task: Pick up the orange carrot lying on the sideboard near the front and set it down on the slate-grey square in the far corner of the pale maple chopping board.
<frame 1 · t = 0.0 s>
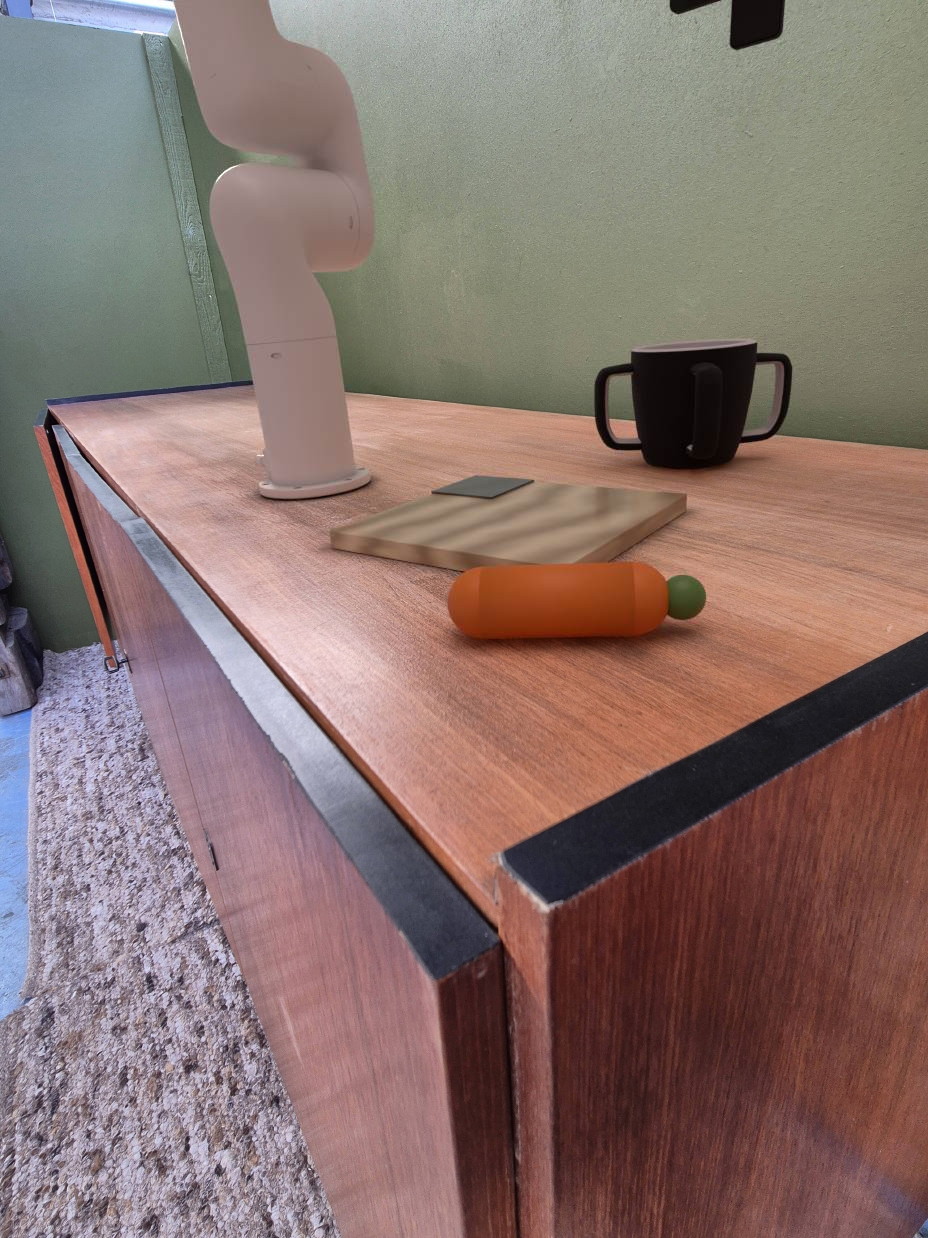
hand: (729, 25, 43), 31 cm above the table, tool pointing down, fingers open, 9 cm apart
carrot: (557, 634, 39), on the table
mug: (688, 464, 77), on the table
chopping board: (510, 529, 59), on the table
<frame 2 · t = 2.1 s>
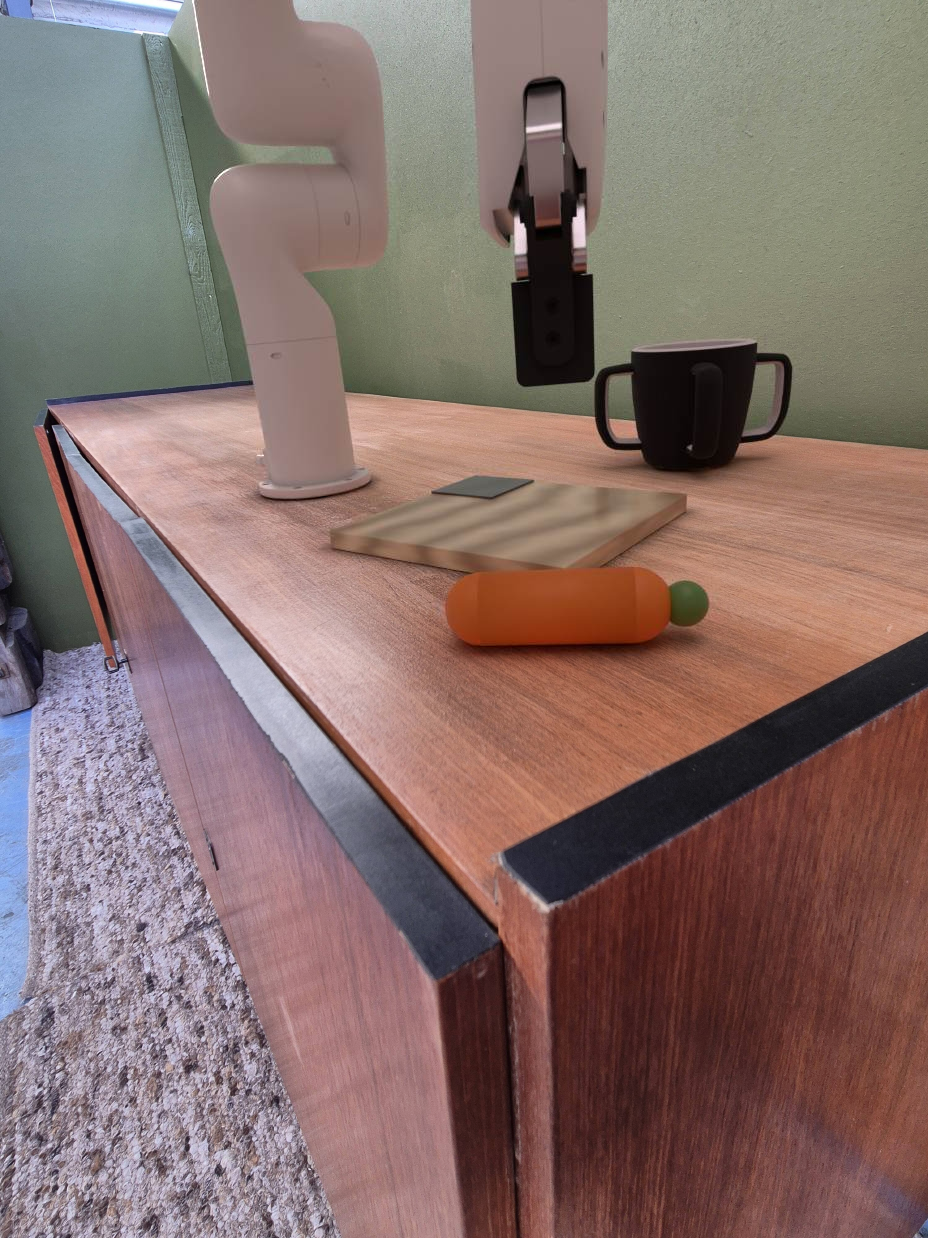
hand: (557, 374, 34), 14 cm above the table, tool pointing down, fingers open, 9 cm apart
carrot: (557, 631, 39), on the table, tilted 25°
everything else where it was.
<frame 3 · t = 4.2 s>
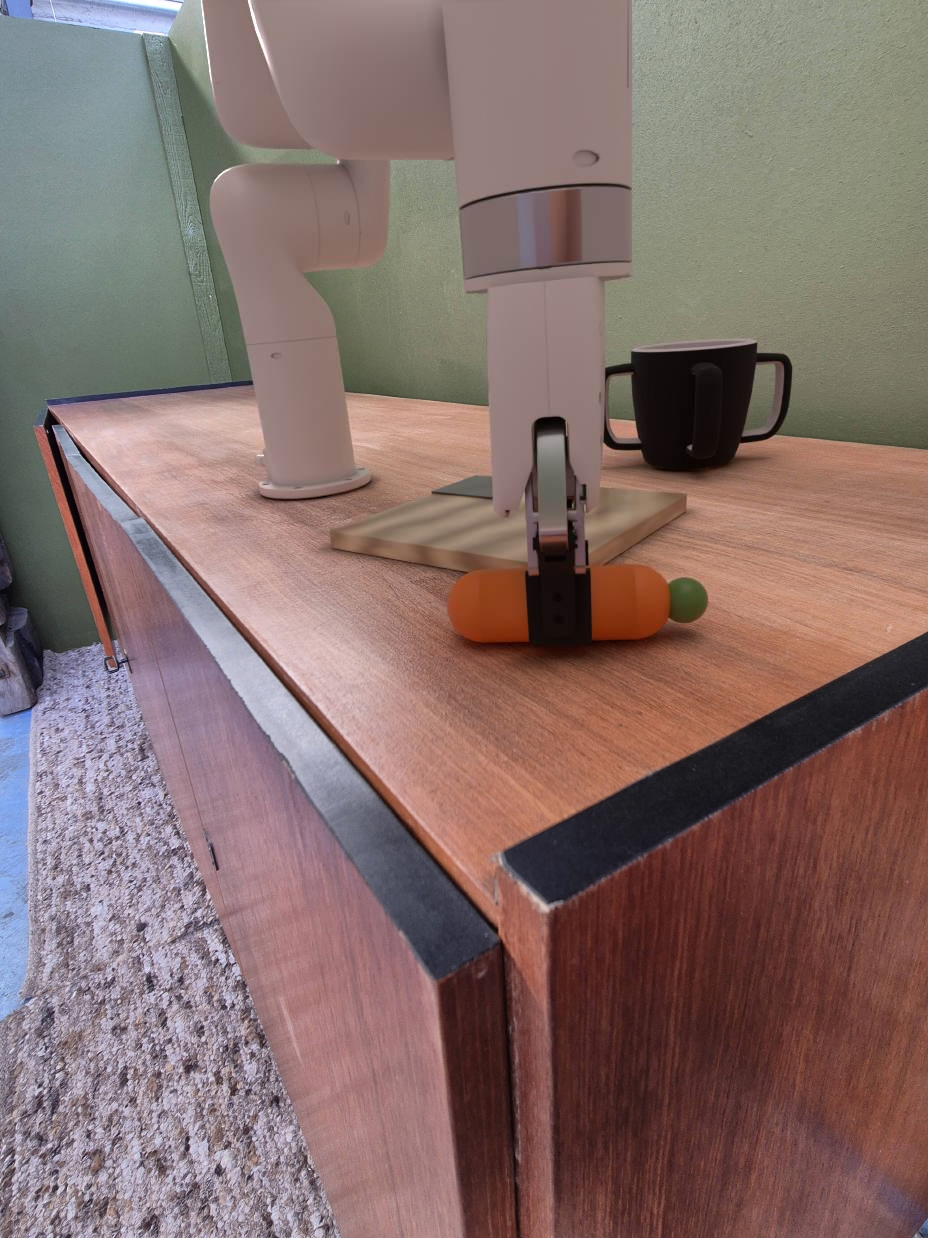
hand: (560, 622, 39), 1 cm above the table, tool pointing down, fingers closed on carrot, 4 cm apart
carrot: (558, 631, 40), on the table, tilted 17°, touching gripper
everything else where it was.
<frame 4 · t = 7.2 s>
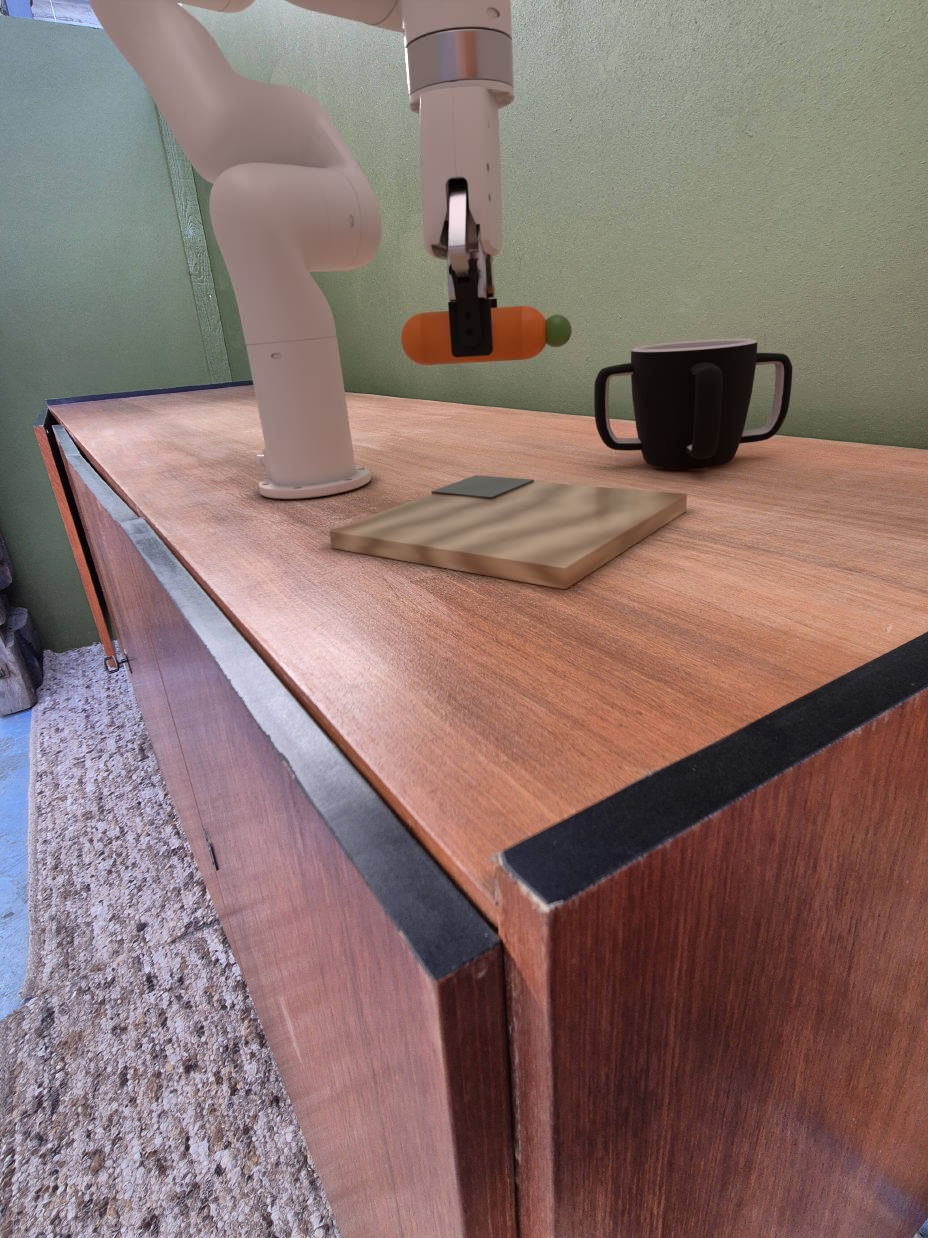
hand: (476, 350, 58), 14 cm above the table, tool pointing down, fingers closed on carrot, 4 cm apart
carrot: (476, 360, 59), point 13 cm above the table, tilted 19°, touching gripper
everything else where it was.
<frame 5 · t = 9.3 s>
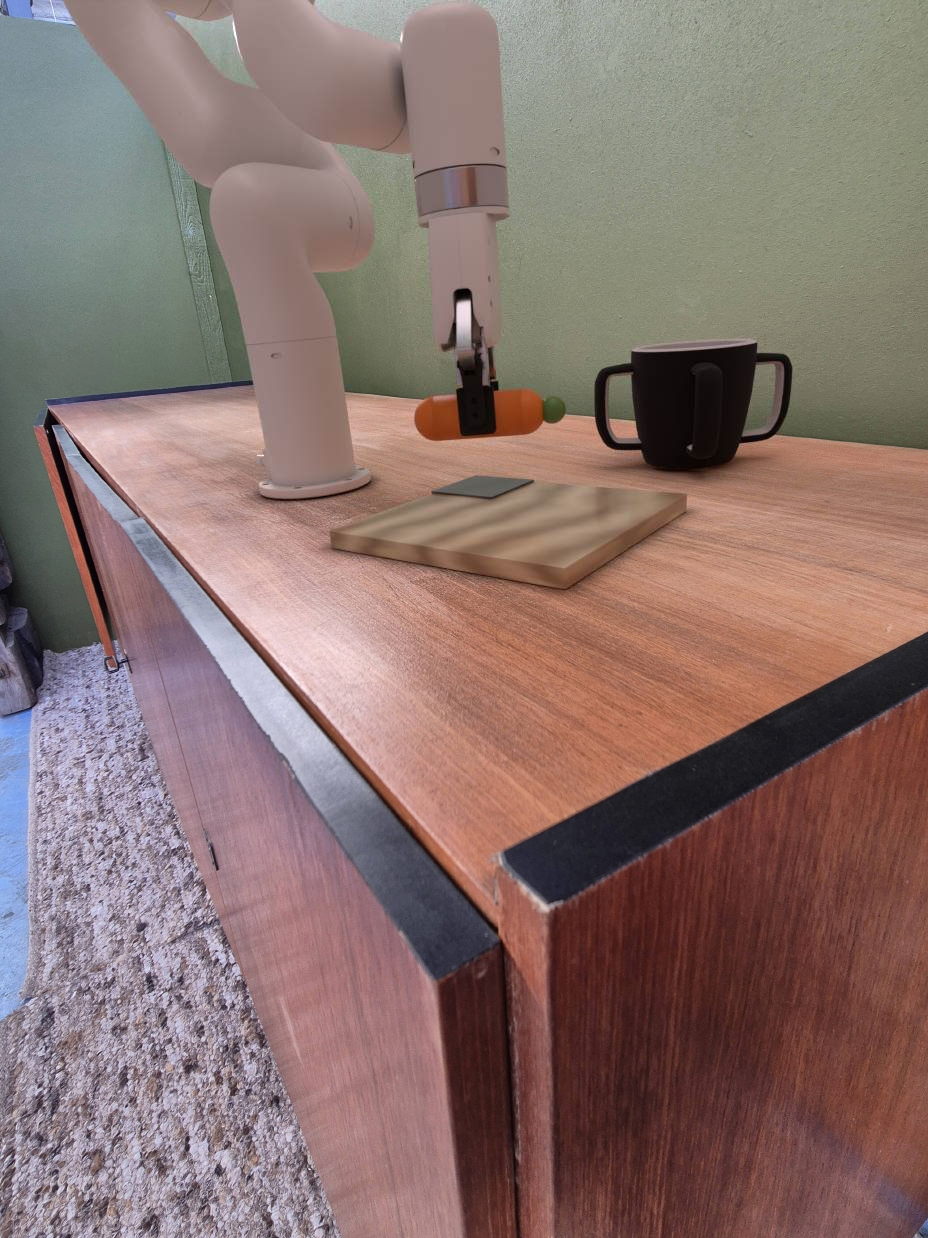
hand: (481, 428, 65), 7 cm above the table, tool pointing down, fingers closed on carrot, 4 cm apart
carrot: (481, 435, 66), point 6 cm above the table, tilted 18°, touching gripper
everything else where it was.
when the fingers open (3 cm above the table, at t = 10.6 s): carrot stays where it is, resting on chopping board.
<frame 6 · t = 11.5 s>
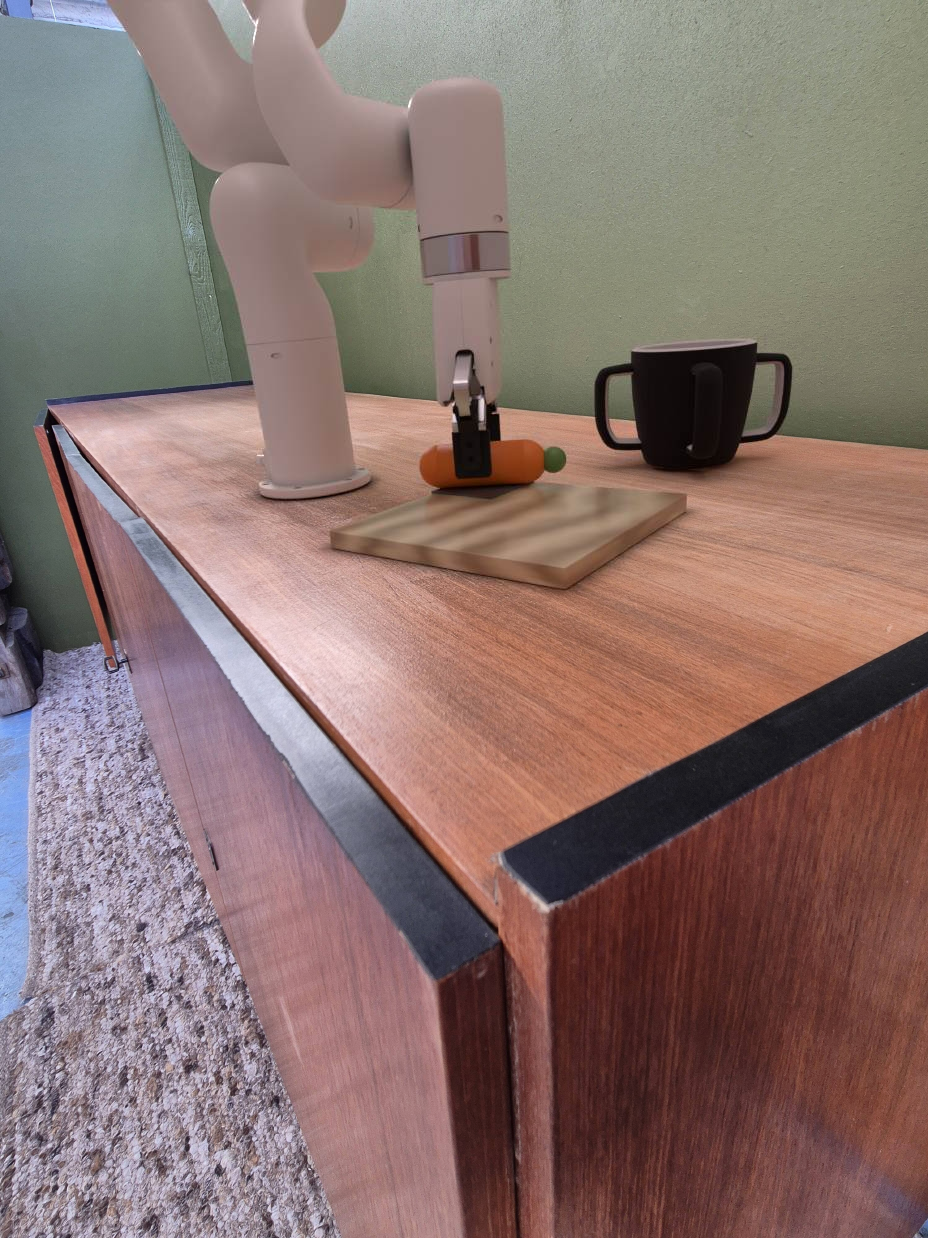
hand: (480, 465, 67), 4 cm above the table, tool pointing down, fingers open, 9 cm apart
carrot: (484, 483, 68), point 2 cm above the table, tilted 13°, touching chopping board
everything else where it was.
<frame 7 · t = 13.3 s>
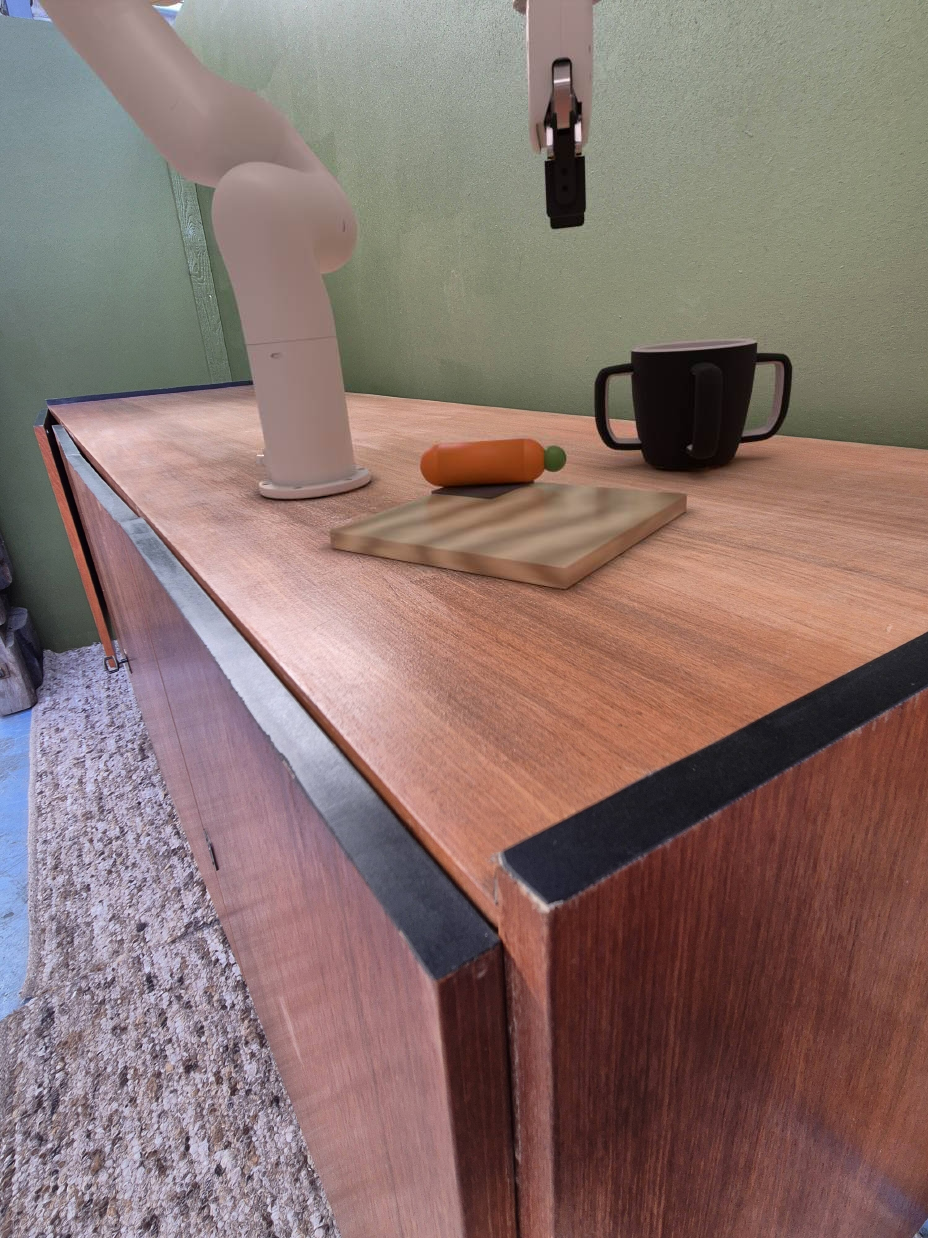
hand: (566, 221, 63), 23 cm above the table, tool pointing down, fingers open, 9 cm apart
carrot: (484, 483, 68), point 2 cm above the table, touching chopping board
everything else where it was.
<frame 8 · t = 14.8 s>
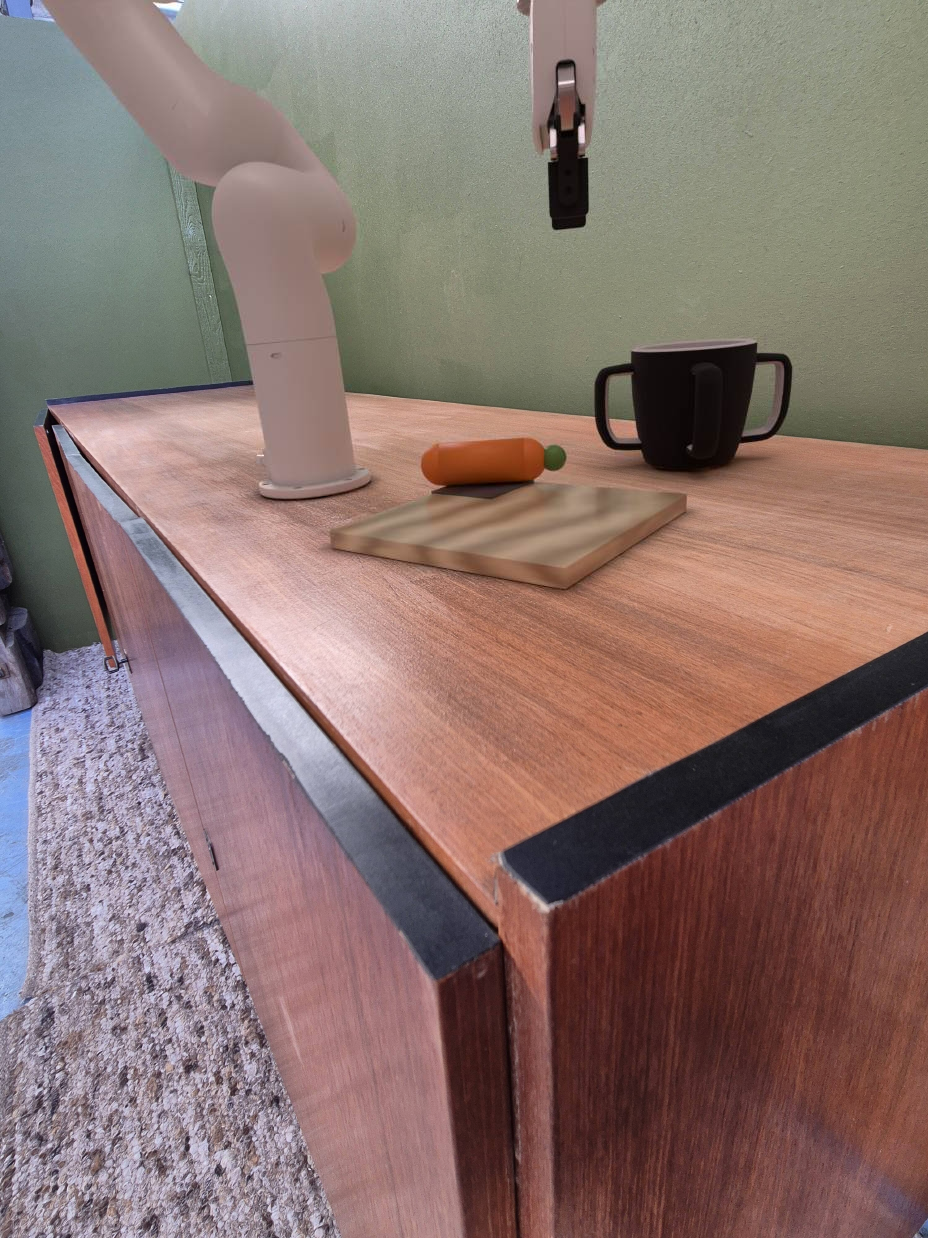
hand: (569, 222, 63), 23 cm above the table, tool pointing down, fingers open, 9 cm apart
carrot: (484, 483, 68), point 2 cm above the table, tilted 12°, touching chopping board
everything else where it was.
at the end: carrot inside the target area on the chopping board (0.7 cm from its centre), point 1.7 cm above the chopping board's base; the gripper is holding nothing; carrot moved 31.7 cm from its start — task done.
